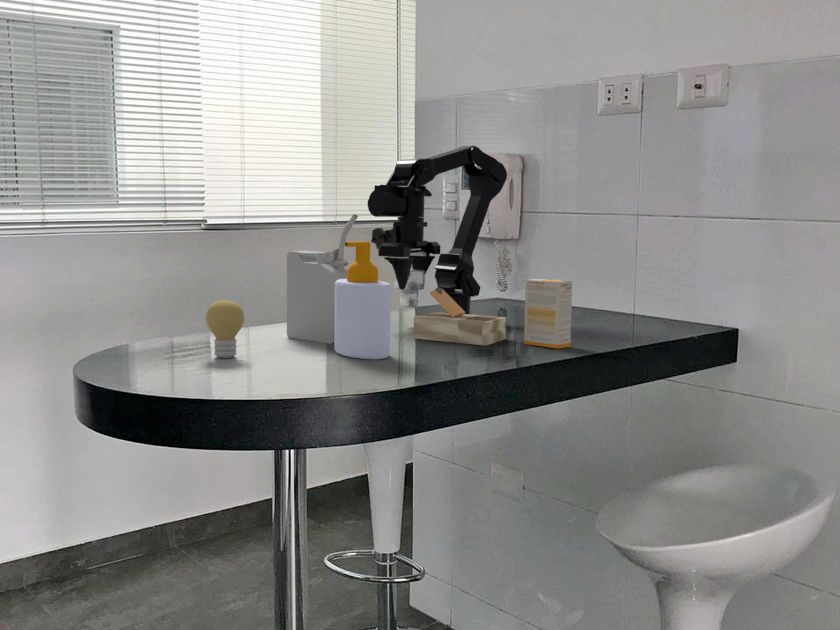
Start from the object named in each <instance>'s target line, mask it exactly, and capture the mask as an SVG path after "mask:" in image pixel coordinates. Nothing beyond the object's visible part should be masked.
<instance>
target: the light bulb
mask: <svg viewBox="0 0 840 630" xmlns="http://www.w3.org/2000/svg"><path fill="white" fill-rule="evenodd" d="M205 316H206V317H205V320H206V324H207V327H208V329H209V331H210V332H211V333H212V334H213V335H214V338H215V339H214V340H213V342H214V345H213V347H214V351H213V352H214V355H215V356H216V357H217V358H218V359H232V358H234V357H235V356H237V339H236V336H237V334H239V332H240V331H241V329H242V327H243V326H244V322H245V313H244V310H243V308H242V307H241V305H240V304H238V303H236V302H235V301H233V300H226V299H222V300H219V301H215V302H213V303H212V304H211V305H209V307H208V309H207V311H206V315H205Z"/></svg>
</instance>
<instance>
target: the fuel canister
mask: <svg viewBox="0 0 840 630" xmlns="http://www.w3.org/2000/svg"><path fill="white" fill-rule="evenodd" d="M358 218H359V216H358V215H357V214H355V213H354V214H352V215H351V217H350V218H349V220H348V221H347V223H345V226H344V227H343V229H342V232H341V236H340V240H339V244H338V247H336V248H335V249H332V251H314V250H291V251H289V252H287V255H286V336H287V338H290V339H294V340H295V339H296V340H302V341H309V342H315V343H316V342H317V343H324V344H328V345H334V319H335V281H337V280H339V279H347V270H348V269H346V268H345V267H346V266H348V265H349V264H352V261H350V260H347V259H346V260H345V259H344V258H345V249H344V248H345V242H347V241H346V239H347V235H348V233H349V232H350V231H351V229H352V228H353V225H354V224H355V223H356V220H357V219H358Z"/></svg>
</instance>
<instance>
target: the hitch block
mask: <svg viewBox="0 0 840 630" xmlns="http://www.w3.org/2000/svg"><path fill="white" fill-rule="evenodd" d="M506 325H507V317H505V316H504V317H503V316H496V315H495V316H494V315H481V314H471V313H470V314H464V315H461V316H457V317H452V316H451V315H450V314H449V313H446V311H445V312H443V311H433V312H428V313H425V314H424V313H423V314H419V315H414V316H413V339H414V340H416V339H417V340H424V341H425V340H426V341H434V342H435V341H438V342H446V343H454V344H455V343H456V344H465V345H467V344H468V345H476V346H489V345H493V344H495V343H497V342H498V343H499V342H501V341H504V340H506V331H507V330H506V329H507V326H506Z"/></svg>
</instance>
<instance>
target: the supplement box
mask: <svg viewBox="0 0 840 630" xmlns="http://www.w3.org/2000/svg"><path fill="white" fill-rule="evenodd" d="M524 292H525V293H524V301H525V302H524V327H523V328H524V330H523V331H524V332H523V333H524V335H523V336H524V337H523V338H524V339H523V344H524V345H529V346H536V347H537V346H538V347H544V348H550V349H557V350H559V349H565V348H570V347H571V332H572V328H571V327H572V307H573V304H572V303H573V302H572V301H573V300H572V299H573V297H572V296H573V280H566V279H554V278H553V279H552V278H540V277H538V278H537V277H536V278H529V279H525V289H524Z"/></svg>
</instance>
